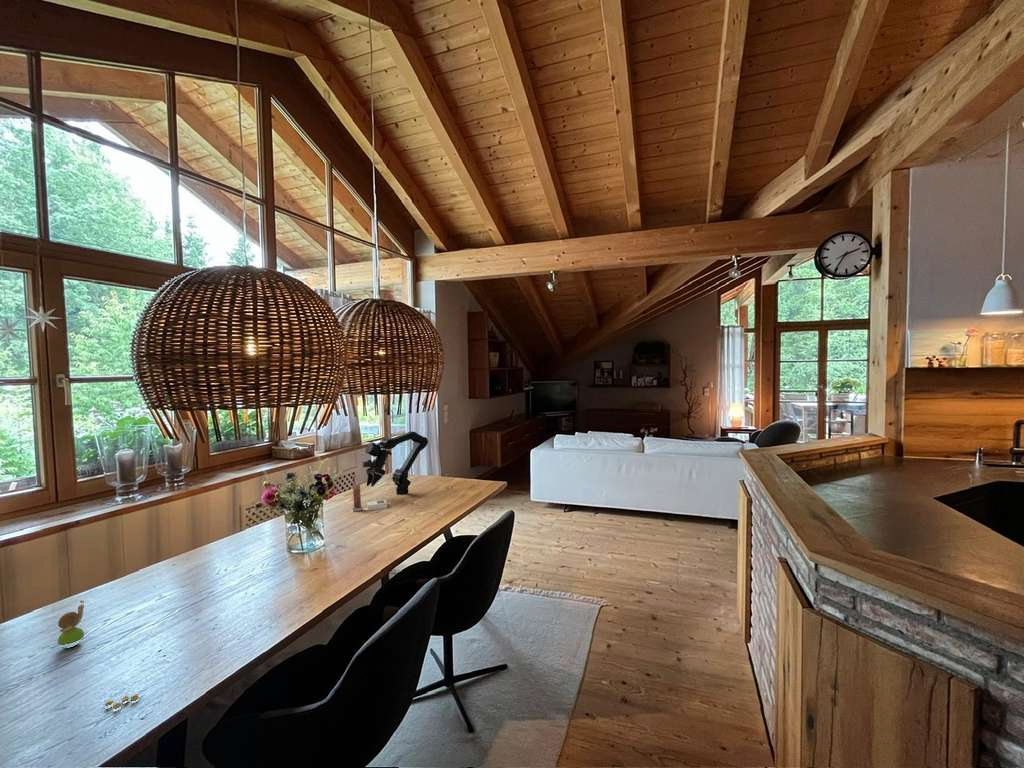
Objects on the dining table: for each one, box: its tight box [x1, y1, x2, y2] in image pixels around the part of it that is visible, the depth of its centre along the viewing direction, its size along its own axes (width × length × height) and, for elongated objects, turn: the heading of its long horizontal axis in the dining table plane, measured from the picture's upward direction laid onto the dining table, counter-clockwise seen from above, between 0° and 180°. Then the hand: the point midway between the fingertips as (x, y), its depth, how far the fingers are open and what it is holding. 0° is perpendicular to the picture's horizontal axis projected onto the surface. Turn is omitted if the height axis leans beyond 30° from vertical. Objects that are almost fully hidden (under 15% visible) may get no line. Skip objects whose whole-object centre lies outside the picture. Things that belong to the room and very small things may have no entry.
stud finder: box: [366, 499, 388, 511], centre depth 243 cm, size 10×6×3 cm, turn 113°
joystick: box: [352, 484, 364, 513], centre depth 239 cm, size 5×5×14 cm
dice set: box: [104, 694, 139, 709], centre depth 107 cm, size 5×5×2 cm
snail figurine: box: [57, 600, 85, 646], centre depth 131 cm, size 5×6×12 cm
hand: (369, 486), depth 250 cm, fingers open, 9 cm apart
